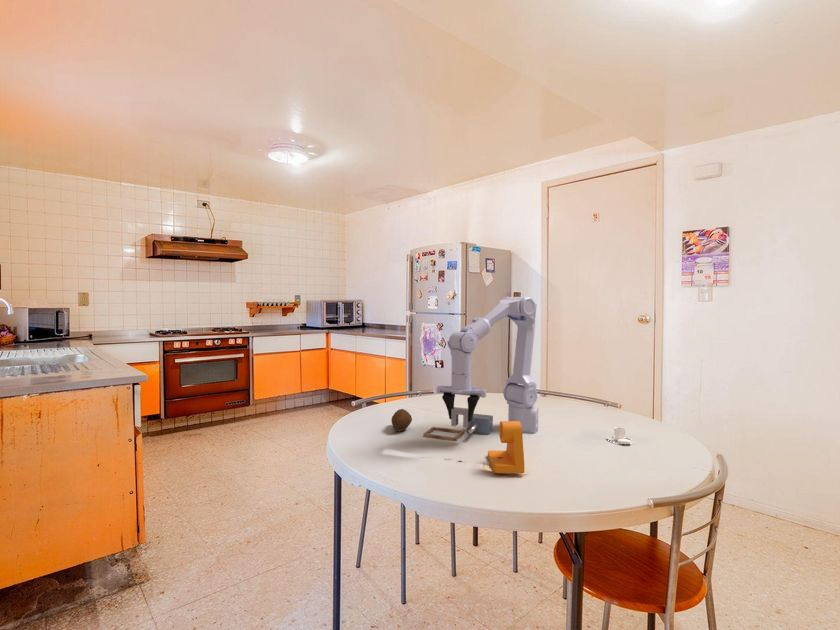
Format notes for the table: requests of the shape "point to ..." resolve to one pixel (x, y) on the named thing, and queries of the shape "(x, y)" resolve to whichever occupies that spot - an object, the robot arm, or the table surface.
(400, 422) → the potato
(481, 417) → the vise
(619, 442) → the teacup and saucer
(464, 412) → the block
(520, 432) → the bracket
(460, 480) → the table surface
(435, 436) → the tray
